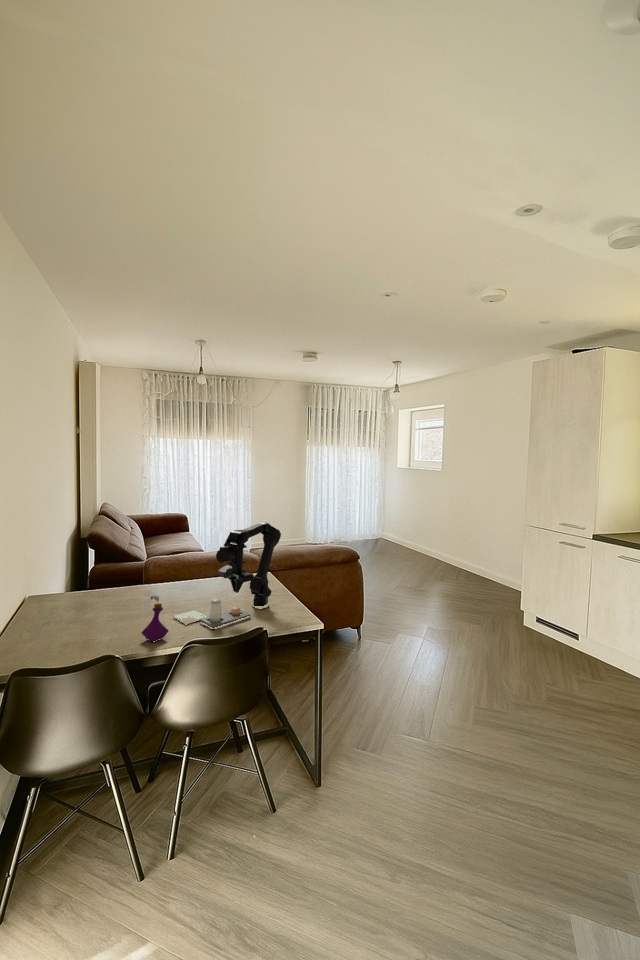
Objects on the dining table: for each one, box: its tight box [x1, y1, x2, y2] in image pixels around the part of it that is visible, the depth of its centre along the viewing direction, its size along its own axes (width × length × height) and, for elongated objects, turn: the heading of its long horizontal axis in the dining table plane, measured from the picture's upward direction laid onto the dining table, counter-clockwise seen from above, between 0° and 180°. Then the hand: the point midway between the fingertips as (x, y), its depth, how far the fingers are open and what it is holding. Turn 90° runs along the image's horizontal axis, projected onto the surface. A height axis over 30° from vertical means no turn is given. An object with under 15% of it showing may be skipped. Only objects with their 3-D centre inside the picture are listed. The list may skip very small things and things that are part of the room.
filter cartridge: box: [209, 598, 222, 623], centre depth 198 cm, size 5×5×11 cm
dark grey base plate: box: [199, 609, 251, 628], centre depth 202 cm, size 20×10×2 cm, turn 137°
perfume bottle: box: [141, 594, 169, 642], centre depth 180 cm, size 8×8×18 cm
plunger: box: [230, 606, 241, 616], centre depth 206 cm, size 4×4×3 cm
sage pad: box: [172, 610, 208, 620], centre depth 203 cm, size 11×11×1 cm
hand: (236, 592), depth 205 cm, fingers closed
